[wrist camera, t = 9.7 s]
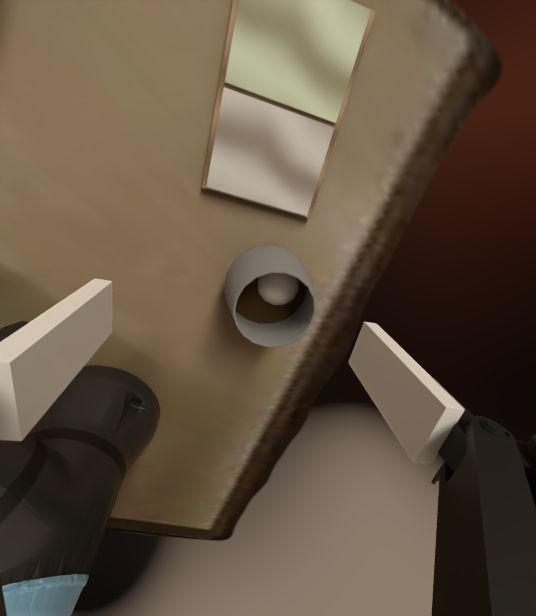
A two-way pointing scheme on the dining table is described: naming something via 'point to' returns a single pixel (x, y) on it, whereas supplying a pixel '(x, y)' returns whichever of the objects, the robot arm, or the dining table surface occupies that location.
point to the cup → (270, 296)
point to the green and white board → (283, 98)
